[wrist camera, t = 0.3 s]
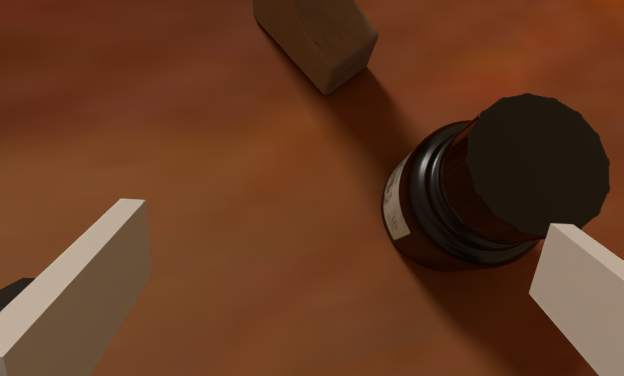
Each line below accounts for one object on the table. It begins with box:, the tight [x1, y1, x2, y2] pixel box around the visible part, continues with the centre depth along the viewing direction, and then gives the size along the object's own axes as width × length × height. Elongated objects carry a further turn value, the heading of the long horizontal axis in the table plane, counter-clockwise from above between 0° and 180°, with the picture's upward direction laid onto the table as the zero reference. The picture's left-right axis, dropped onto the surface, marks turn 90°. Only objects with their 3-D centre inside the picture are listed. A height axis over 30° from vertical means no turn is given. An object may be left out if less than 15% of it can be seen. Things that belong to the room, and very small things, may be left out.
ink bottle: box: [381, 93, 610, 272], centre depth 24 cm, size 10×9×12 cm
